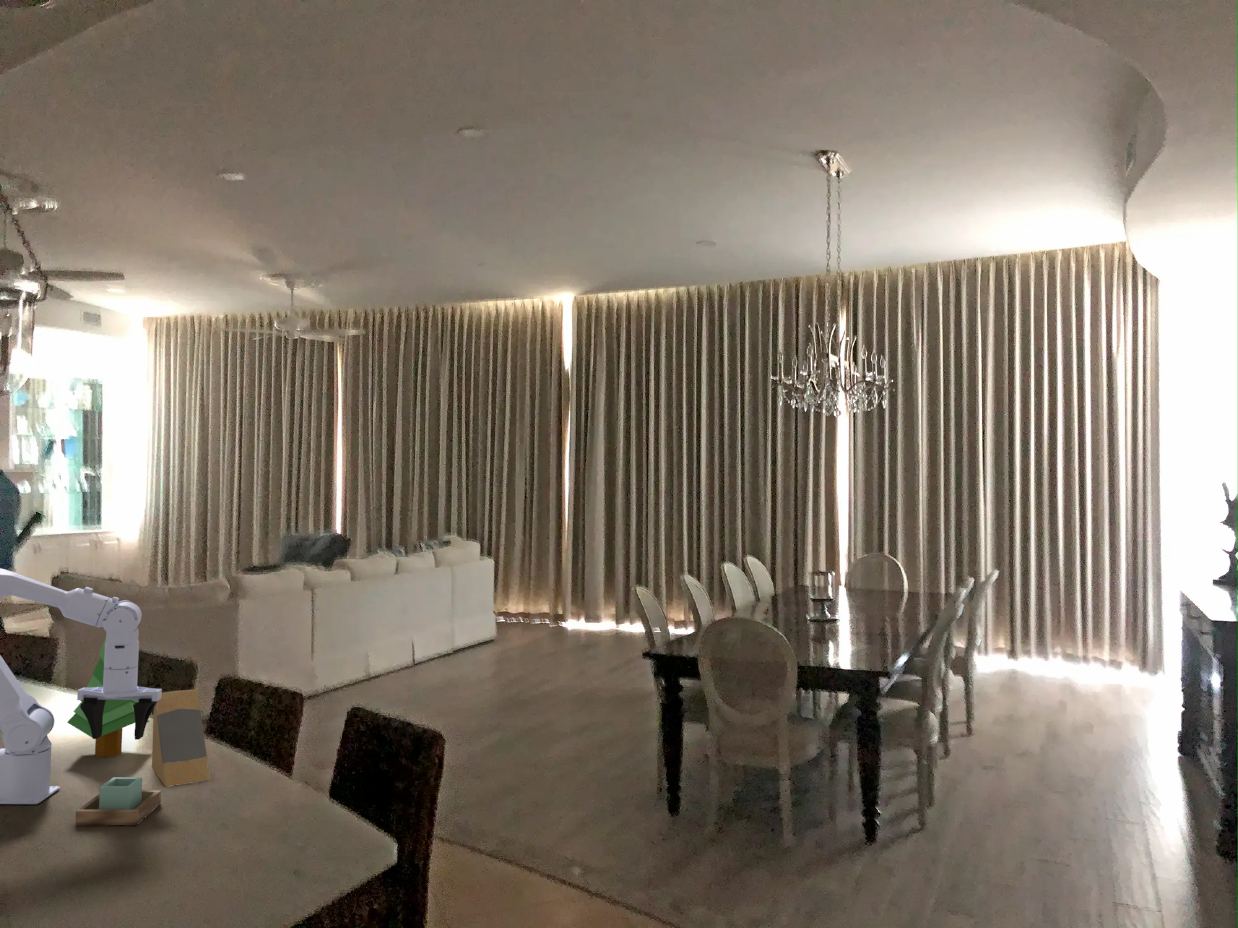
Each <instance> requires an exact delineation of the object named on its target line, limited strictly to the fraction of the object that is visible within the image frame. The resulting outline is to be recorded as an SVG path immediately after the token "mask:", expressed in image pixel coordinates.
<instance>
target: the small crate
mask: <svg viewBox="0 0 1238 928" xmlns="http://www.w3.org/2000/svg"><path fill="white" fill-rule="evenodd" d="M142 790H143V777H126V776H125V777H120V776H119V777H116V776H115V777H114V776H113V777H112V778H111V779H109V780H108V781H107V782H105V783H103V784H102V785H101V786H100V787H99V794H100V798H99V810H134V809H135V808H137V807H138V806H139V805H140V804H141V799H142Z"/></svg>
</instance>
